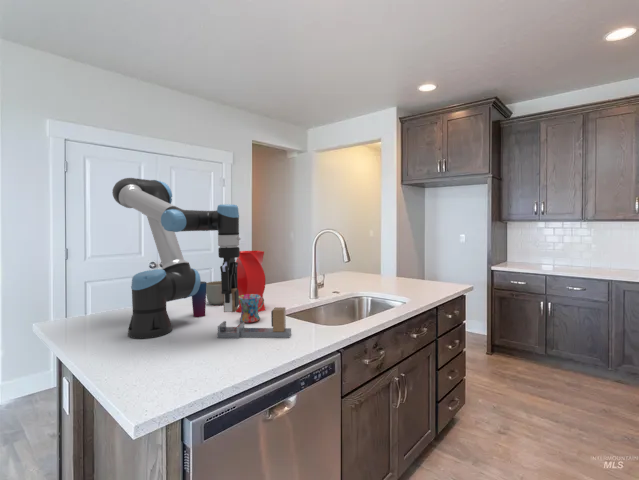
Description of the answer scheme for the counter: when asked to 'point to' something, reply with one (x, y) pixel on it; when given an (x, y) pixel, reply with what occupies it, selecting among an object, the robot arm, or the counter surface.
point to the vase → (251, 275)
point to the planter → (214, 293)
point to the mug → (250, 307)
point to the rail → (240, 331)
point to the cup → (199, 301)
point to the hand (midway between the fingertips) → (230, 309)
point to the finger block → (234, 299)
